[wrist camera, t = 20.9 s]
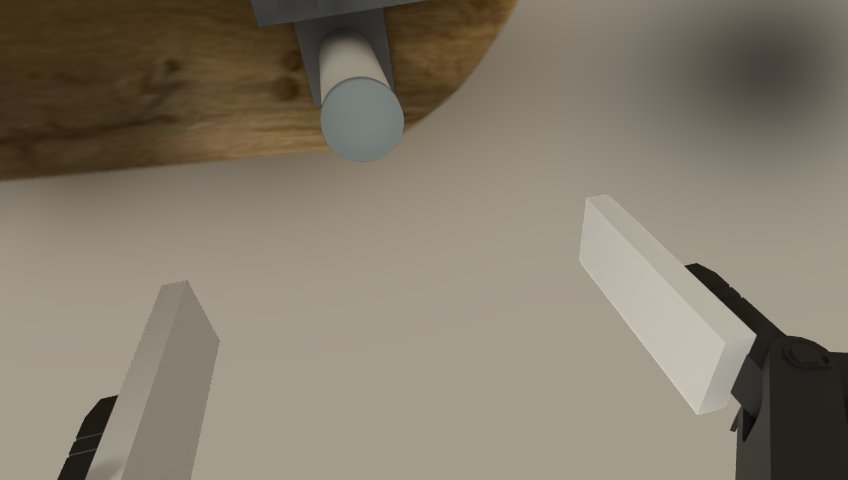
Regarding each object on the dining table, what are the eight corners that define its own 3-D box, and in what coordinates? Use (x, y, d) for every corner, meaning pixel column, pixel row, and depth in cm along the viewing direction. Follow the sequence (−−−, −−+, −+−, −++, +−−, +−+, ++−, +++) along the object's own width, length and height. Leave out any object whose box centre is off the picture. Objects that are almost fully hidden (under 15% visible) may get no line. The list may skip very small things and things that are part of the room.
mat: (314, 104, 41) (314, 107, 40) (292, 17, 37) (292, 18, 36) (394, 90, 41) (395, 93, 41) (381, 2, 37) (382, 4, 37)
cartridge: (325, 91, 40) (331, 168, 27) (311, 32, 37) (311, 89, 25) (379, 81, 40) (408, 153, 28) (369, 23, 37) (397, 74, 25)
